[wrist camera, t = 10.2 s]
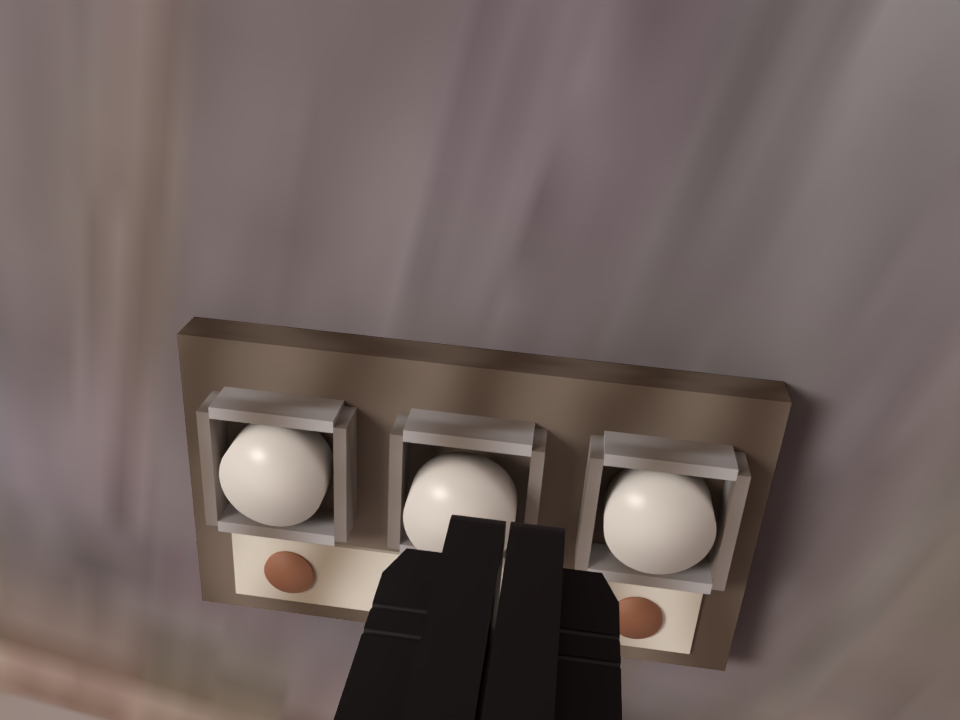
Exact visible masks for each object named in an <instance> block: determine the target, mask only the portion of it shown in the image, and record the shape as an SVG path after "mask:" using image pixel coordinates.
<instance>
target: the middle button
mask: <svg viewBox="0 0 960 720" xmlns="http://www.w3.org/2000/svg"><path fill="white" fill-rule="evenodd" d="M517 504H518V496H517V491H516V487H515V485H514V483H513V481H512V479H511V477H510V476H509V474H508V473H507V472H506V471H505V470H504V469H503V468H502V467H501V466H500V465H498V464H497V463H496V462H494V461H492V460H491V459H489V458H487V457H484V456H482V455H479V454H475V453H471V452H461V451H460V452H449V453H444V454H441V455H438V456H436V457H434V458H432V459H430V460H429V461H427V462H426V463H425V464H424V465H423V466H422V467H421V468H420V469H419V470H418V472H417V473H416V475H415V477H414V480H413V483H412V486H411V489H410V492H409V495H408V498H407V501H406V504H405V507H404V512H403V523H404V528H405V531H406V534H407V536H408V537H409V539H410V541H411V542H412V544H413V545H414V546H415V547H416V548H417V549H418V550H425V551H433V552H441V553H442V550H443V546H444V542H445V538H446V534H447V530H448V526H449V522H450V518H451V516H452V515H461V516H469V517H477V518H485V519H493V520H501V521H506V533H505V544H504V551H505V550H506V549H507V543H508V537H509V530H510V524H511V522H515V519H516V512H517Z"/></svg>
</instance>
